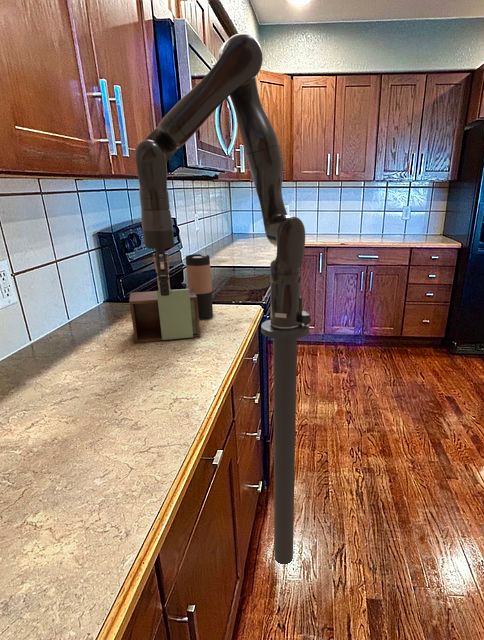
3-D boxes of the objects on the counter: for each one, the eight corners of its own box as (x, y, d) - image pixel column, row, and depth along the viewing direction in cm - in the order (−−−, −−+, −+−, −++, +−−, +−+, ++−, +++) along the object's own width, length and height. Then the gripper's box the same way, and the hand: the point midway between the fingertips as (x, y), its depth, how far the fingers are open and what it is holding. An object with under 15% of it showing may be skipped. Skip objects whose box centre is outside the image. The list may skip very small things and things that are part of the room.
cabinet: (196, 326, 131) (193, 288, 127) (200, 336, 123) (197, 296, 118) (135, 331, 126) (130, 292, 122) (135, 343, 118) (129, 301, 113)
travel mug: (192, 320, 136) (187, 258, 129) (188, 314, 143) (183, 254, 135) (215, 318, 139) (212, 257, 131) (211, 312, 146) (207, 253, 138)
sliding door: (192, 335, 122) (187, 273, 115) (193, 337, 120) (188, 275, 113) (162, 338, 120) (154, 275, 113) (162, 340, 118) (154, 277, 111)
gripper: (174, 230, 103) (181, 299, 109) (171, 225, 115) (177, 287, 122) (142, 231, 100) (151, 301, 107) (142, 225, 113) (150, 289, 119)
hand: (164, 293), depth 114 cm, fingers closed on sliding door, 2 cm apart
